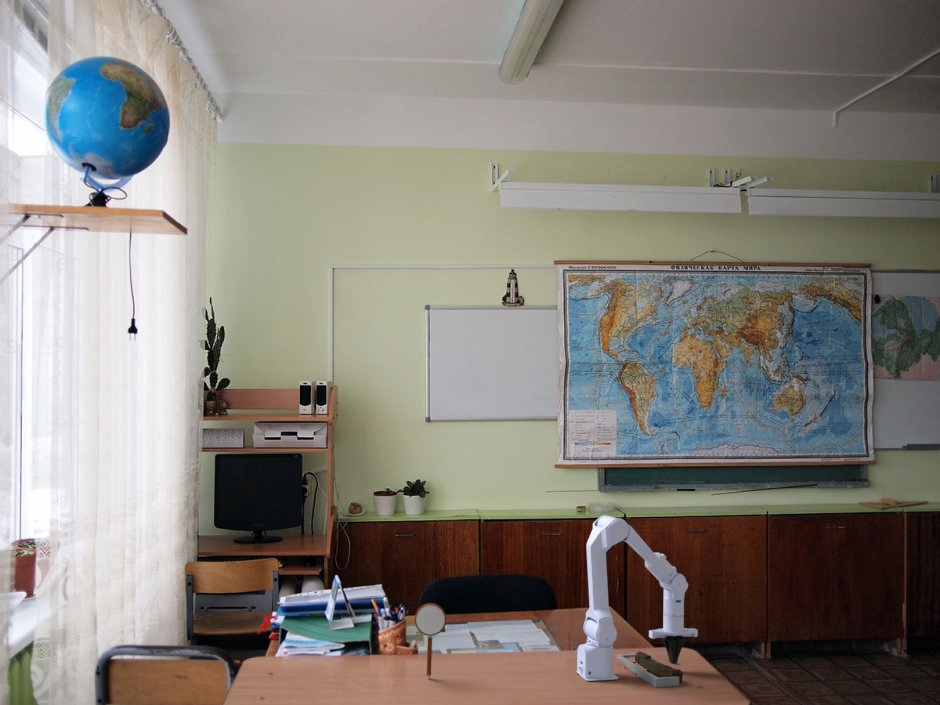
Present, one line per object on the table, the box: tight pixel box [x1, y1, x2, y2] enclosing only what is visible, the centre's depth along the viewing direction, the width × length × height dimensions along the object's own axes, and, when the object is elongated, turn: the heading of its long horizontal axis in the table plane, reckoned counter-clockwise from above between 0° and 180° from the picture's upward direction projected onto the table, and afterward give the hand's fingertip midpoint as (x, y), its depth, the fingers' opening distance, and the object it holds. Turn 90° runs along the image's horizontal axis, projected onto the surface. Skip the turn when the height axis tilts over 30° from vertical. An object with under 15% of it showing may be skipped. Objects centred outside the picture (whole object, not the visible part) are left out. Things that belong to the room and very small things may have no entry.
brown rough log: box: [635, 651, 684, 684], centre depth 234 cm, size 19×4×5 cm, turn 23°
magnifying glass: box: [414, 602, 447, 680], centre depth 225 cm, size 9×2×20 cm, turn 89°
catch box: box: [616, 653, 680, 688], centre depth 234 cm, size 7×24×2 cm, turn 15°
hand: (673, 663), depth 236 cm, fingers closed
